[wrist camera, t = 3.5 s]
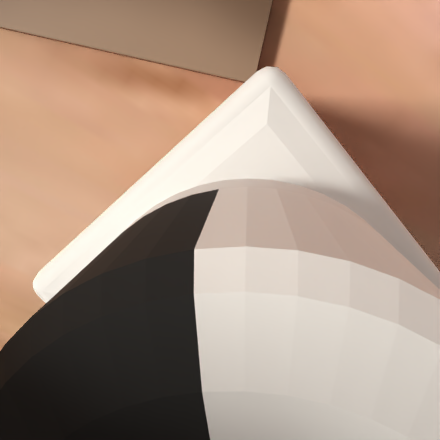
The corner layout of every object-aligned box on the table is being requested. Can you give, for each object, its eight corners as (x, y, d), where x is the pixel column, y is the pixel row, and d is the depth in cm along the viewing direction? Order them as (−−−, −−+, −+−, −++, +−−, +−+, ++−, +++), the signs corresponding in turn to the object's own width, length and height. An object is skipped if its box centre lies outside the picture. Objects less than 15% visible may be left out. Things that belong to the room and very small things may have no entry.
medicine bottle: (238, 328, 16) (207, 876, 4) (125, 208, 15) (-304, 532, 3) (376, 229, 14) (905, 713, 3) (261, 85, 13) (342, -122, 2)
